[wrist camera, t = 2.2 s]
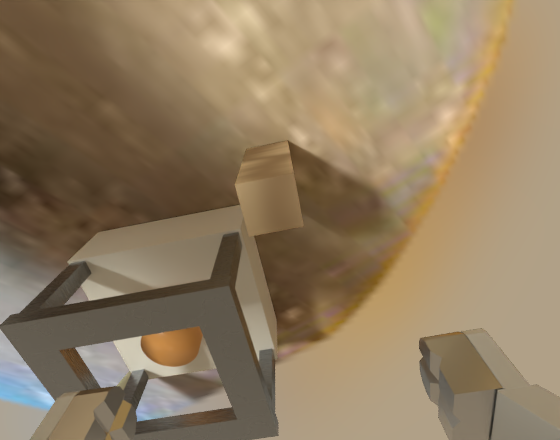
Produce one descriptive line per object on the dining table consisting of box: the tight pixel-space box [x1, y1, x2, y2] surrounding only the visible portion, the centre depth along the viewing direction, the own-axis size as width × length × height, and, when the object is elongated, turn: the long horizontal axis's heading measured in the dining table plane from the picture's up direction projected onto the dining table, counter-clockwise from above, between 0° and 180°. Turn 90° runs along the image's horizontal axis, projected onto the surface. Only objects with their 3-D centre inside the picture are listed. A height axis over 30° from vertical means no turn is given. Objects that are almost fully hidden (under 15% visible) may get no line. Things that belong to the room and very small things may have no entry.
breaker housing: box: [67, 205, 277, 379], centre depth 30 cm, size 14×14×5 cm
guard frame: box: [0, 232, 278, 440], centre depth 25 cm, size 14×14×7 cm
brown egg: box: [141, 327, 203, 367], centre depth 27 cm, size 4×4×5 cm
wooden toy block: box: [235, 140, 304, 237], centre depth 23 cm, size 4×4×9 cm
